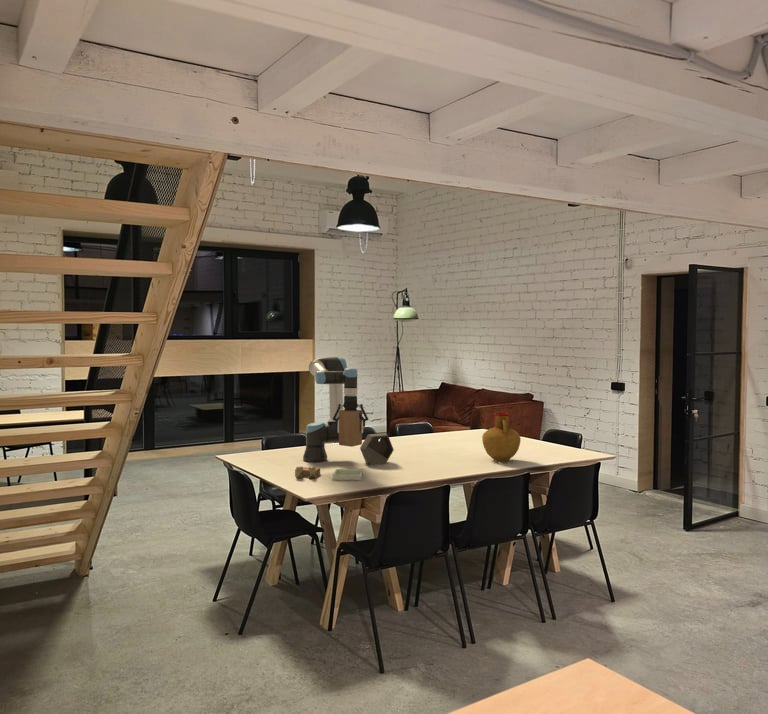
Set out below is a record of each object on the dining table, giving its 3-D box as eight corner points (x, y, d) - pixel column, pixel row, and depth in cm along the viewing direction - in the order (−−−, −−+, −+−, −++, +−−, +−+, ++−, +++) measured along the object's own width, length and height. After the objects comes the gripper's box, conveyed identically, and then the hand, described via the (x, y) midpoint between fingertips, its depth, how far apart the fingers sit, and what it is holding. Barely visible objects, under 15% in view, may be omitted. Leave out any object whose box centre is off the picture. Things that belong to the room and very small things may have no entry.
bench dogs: (296, 477, 366) (296, 466, 366) (315, 477, 366) (315, 466, 365) (295, 478, 362) (295, 467, 362) (314, 479, 362) (315, 468, 362)
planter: (359, 457, 399) (377, 428, 403) (355, 455, 406) (372, 426, 410) (381, 471, 405) (398, 442, 409) (376, 469, 412) (393, 440, 416)
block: (348, 443, 385) (348, 408, 385) (362, 444, 380) (362, 409, 379) (338, 445, 377) (338, 410, 376) (352, 447, 371) (352, 411, 371)
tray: (335, 474, 374) (335, 469, 374) (362, 474, 374) (362, 469, 373) (332, 480, 359) (332, 474, 359) (360, 480, 358) (360, 475, 358)
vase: (524, 464, 408) (525, 415, 407) (486, 464, 407) (487, 415, 405) (514, 457, 432) (515, 411, 431) (478, 457, 430) (479, 411, 429)
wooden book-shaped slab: (300, 473, 377) (300, 466, 377) (320, 474, 374) (320, 467, 374) (295, 476, 369) (295, 469, 369) (315, 477, 367) (315, 470, 366)
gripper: (328, 395, 374) (327, 433, 374) (372, 396, 373) (372, 433, 374) (329, 394, 381) (329, 431, 382) (372, 395, 380) (372, 431, 381)
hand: (350, 432), depth 378 cm, fingers closed on block, 13 cm apart
